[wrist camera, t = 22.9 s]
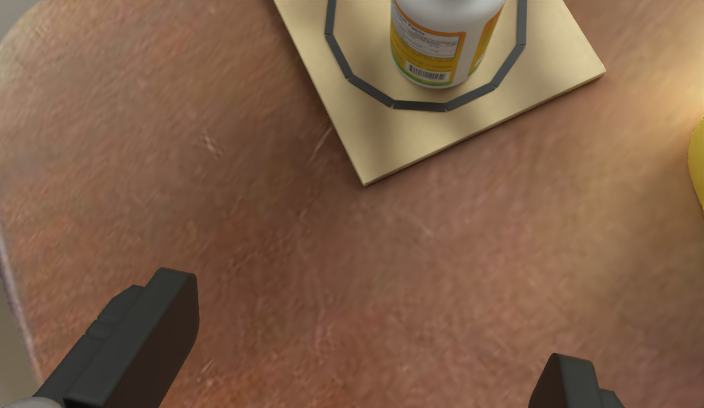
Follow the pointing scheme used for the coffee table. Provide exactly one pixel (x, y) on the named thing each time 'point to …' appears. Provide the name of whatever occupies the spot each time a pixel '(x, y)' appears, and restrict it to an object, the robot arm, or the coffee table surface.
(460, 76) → the supplement bottle
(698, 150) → the teapot
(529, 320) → the coffee table surface
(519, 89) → the board
